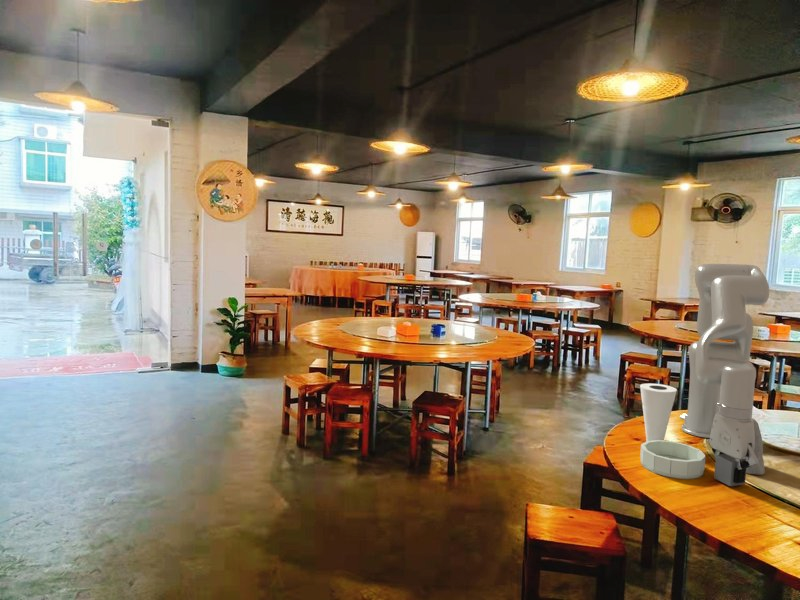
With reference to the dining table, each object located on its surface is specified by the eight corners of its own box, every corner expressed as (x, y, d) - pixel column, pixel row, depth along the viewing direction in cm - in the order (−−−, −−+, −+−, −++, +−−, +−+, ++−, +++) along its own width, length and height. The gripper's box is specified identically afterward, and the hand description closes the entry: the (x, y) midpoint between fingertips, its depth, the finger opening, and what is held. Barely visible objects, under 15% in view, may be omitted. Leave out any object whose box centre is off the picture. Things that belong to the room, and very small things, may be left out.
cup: (629, 437, 179) (632, 384, 177) (657, 435, 182) (661, 382, 180) (651, 449, 169) (655, 392, 167) (680, 446, 171) (684, 391, 170)
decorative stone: (735, 459, 162) (739, 410, 160) (758, 463, 159) (763, 413, 158) (740, 473, 152) (745, 421, 150) (766, 477, 150) (770, 424, 148)
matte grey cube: (714, 478, 147) (716, 455, 146) (728, 476, 148) (730, 453, 148) (730, 486, 142) (732, 462, 141) (745, 484, 143) (747, 460, 143)
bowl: (628, 459, 161) (629, 442, 160) (673, 454, 165) (674, 438, 165) (669, 481, 145) (670, 463, 145) (716, 475, 150) (718, 458, 149)
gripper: (697, 403, 150) (693, 466, 152) (753, 423, 134) (746, 493, 136) (719, 401, 152) (714, 463, 154) (776, 421, 136) (770, 490, 138)
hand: (729, 477), depth 145 cm, fingers closed on matte grey cube, 5 cm apart
